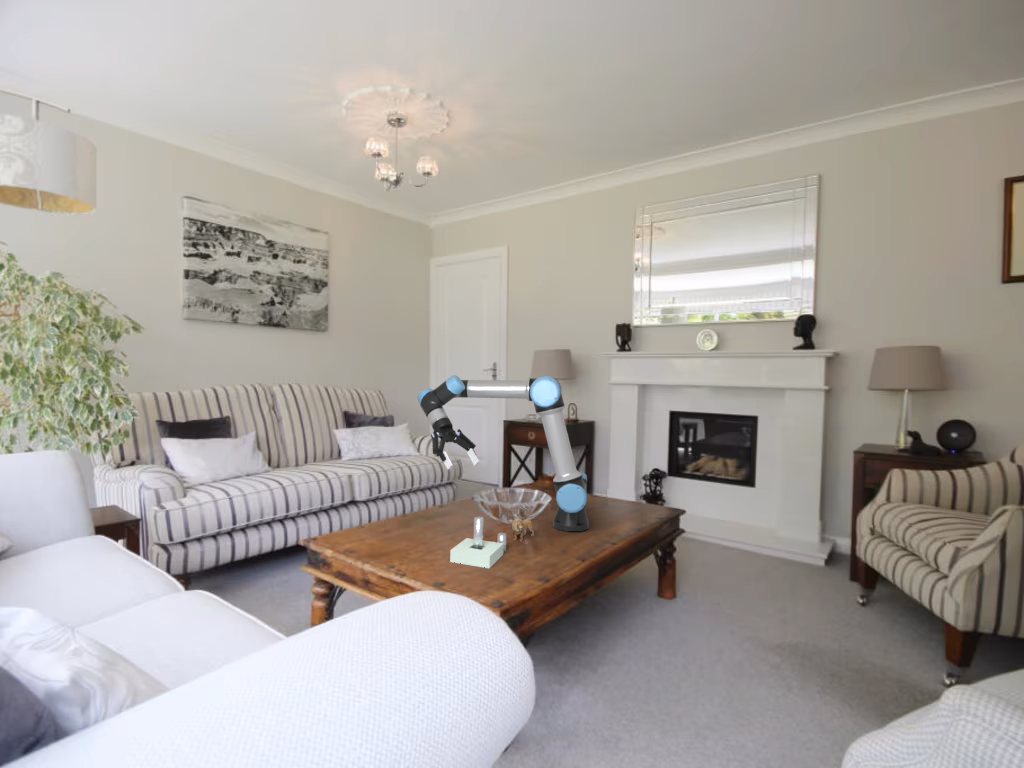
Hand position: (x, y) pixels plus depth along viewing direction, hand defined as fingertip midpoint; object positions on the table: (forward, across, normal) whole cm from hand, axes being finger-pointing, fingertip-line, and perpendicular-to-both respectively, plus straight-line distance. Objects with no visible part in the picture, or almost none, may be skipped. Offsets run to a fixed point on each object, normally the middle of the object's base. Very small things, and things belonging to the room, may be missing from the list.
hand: (463, 465), depth 203 cm
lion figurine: (+31, -18, -8) cm, 37 cm away
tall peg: (+34, +10, -5) cm, 36 cm away
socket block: (+34, +10, -5) cm, 36 cm away
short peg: (+34, -2, -5) cm, 34 cm away
